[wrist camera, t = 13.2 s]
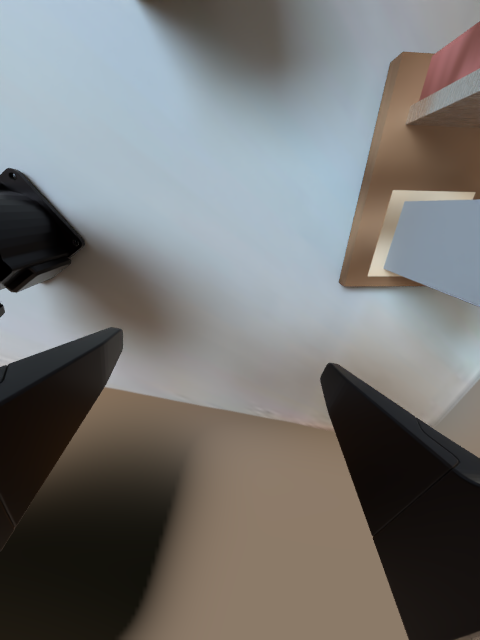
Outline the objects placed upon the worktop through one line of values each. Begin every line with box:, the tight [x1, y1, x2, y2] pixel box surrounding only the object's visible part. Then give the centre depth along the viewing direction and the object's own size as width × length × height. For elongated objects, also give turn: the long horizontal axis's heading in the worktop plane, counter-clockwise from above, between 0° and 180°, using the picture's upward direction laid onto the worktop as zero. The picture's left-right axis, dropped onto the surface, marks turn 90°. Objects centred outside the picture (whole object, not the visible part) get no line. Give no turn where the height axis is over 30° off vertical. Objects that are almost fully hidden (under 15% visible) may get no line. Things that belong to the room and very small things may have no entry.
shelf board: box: [339, 22, 480, 286], centre depth 15 cm, size 16×11×8 cm
